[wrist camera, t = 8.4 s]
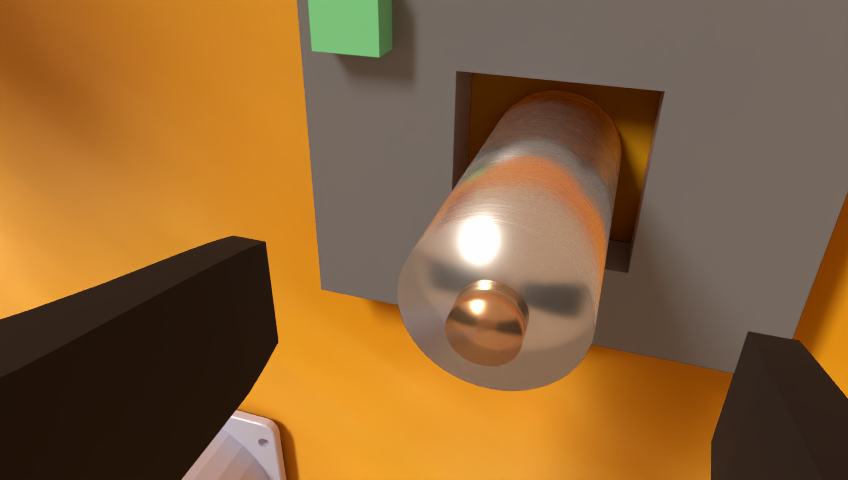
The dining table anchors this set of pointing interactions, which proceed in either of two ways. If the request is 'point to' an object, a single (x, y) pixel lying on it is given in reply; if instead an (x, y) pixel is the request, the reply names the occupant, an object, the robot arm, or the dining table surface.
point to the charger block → (667, 161)
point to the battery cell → (519, 248)
